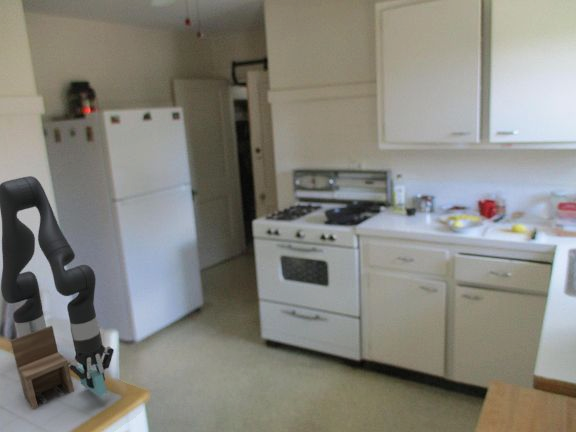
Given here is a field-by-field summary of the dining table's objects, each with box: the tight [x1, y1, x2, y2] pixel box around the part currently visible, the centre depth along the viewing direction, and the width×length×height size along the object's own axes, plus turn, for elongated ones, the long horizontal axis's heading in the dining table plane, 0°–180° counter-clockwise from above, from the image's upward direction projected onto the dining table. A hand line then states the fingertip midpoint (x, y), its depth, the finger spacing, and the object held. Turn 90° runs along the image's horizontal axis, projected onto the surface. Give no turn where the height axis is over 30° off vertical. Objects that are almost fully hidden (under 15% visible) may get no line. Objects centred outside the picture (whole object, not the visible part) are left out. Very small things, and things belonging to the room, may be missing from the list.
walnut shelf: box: [10, 325, 75, 410], centre depth 152 cm, size 9×12×20 cm
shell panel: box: [77, 364, 108, 397], centre depth 149 cm, size 14×2×6 cm, turn 44°
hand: (96, 385), depth 146 cm, fingers closed on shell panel, 2 cm apart
